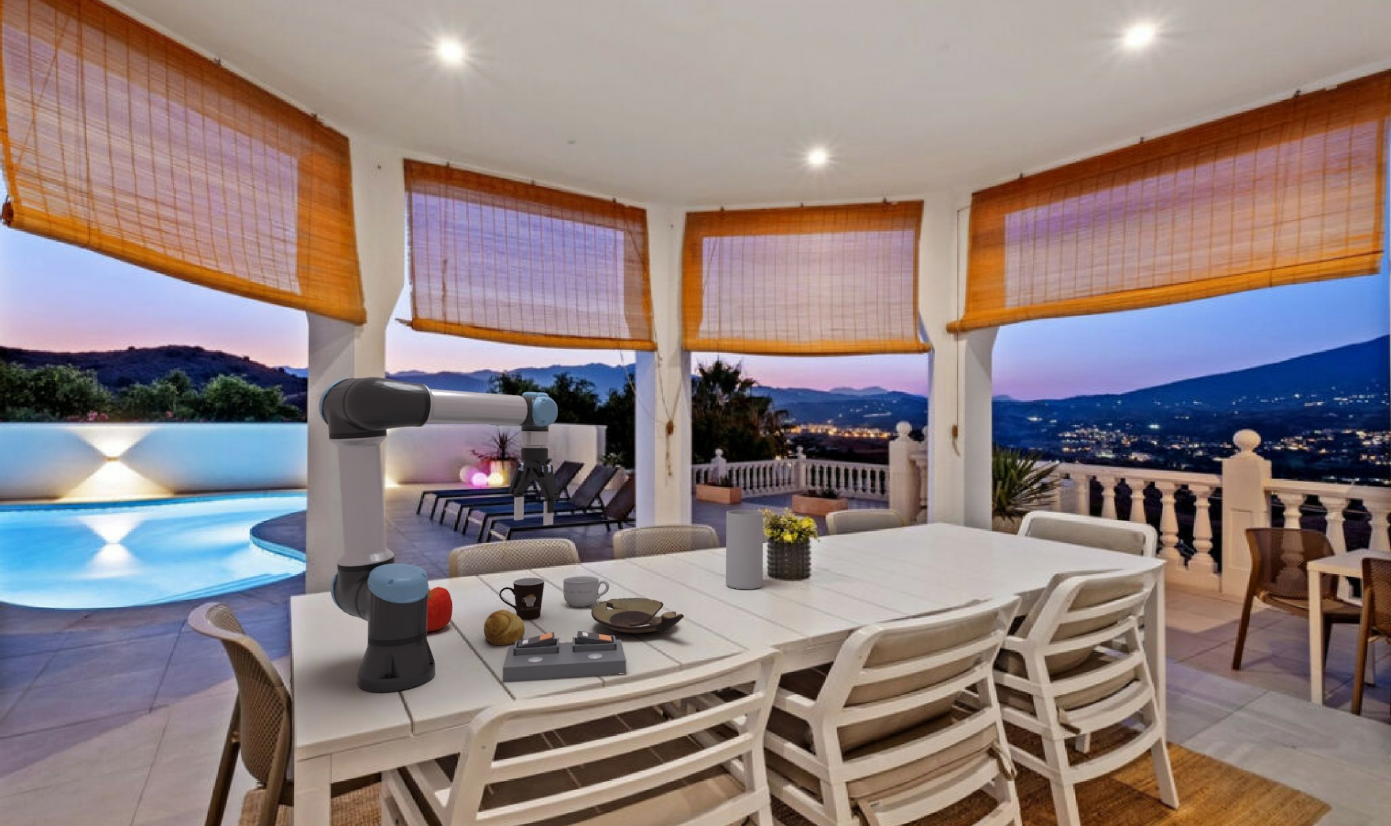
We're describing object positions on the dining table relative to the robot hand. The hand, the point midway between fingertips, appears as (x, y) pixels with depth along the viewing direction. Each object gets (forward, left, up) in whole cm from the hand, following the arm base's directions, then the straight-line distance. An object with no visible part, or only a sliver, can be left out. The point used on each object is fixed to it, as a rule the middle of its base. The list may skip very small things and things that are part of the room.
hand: (533, 522), depth 184 cm
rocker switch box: (-20, -34, -27) cm, 48 cm away
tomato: (-23, +15, -27) cm, 39 cm away
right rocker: (-14, -36, -23) cm, 45 cm away
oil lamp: (+9, -31, -27) cm, 42 cm away
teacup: (+19, -3, -27) cm, 33 cm away
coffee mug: (0, +3, -27) cm, 27 cm away
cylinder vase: (+68, -30, -27) cm, 79 cm away
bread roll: (-16, -8, -27) cm, 33 cm away
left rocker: (-23, -27, -23) cm, 42 cm away
